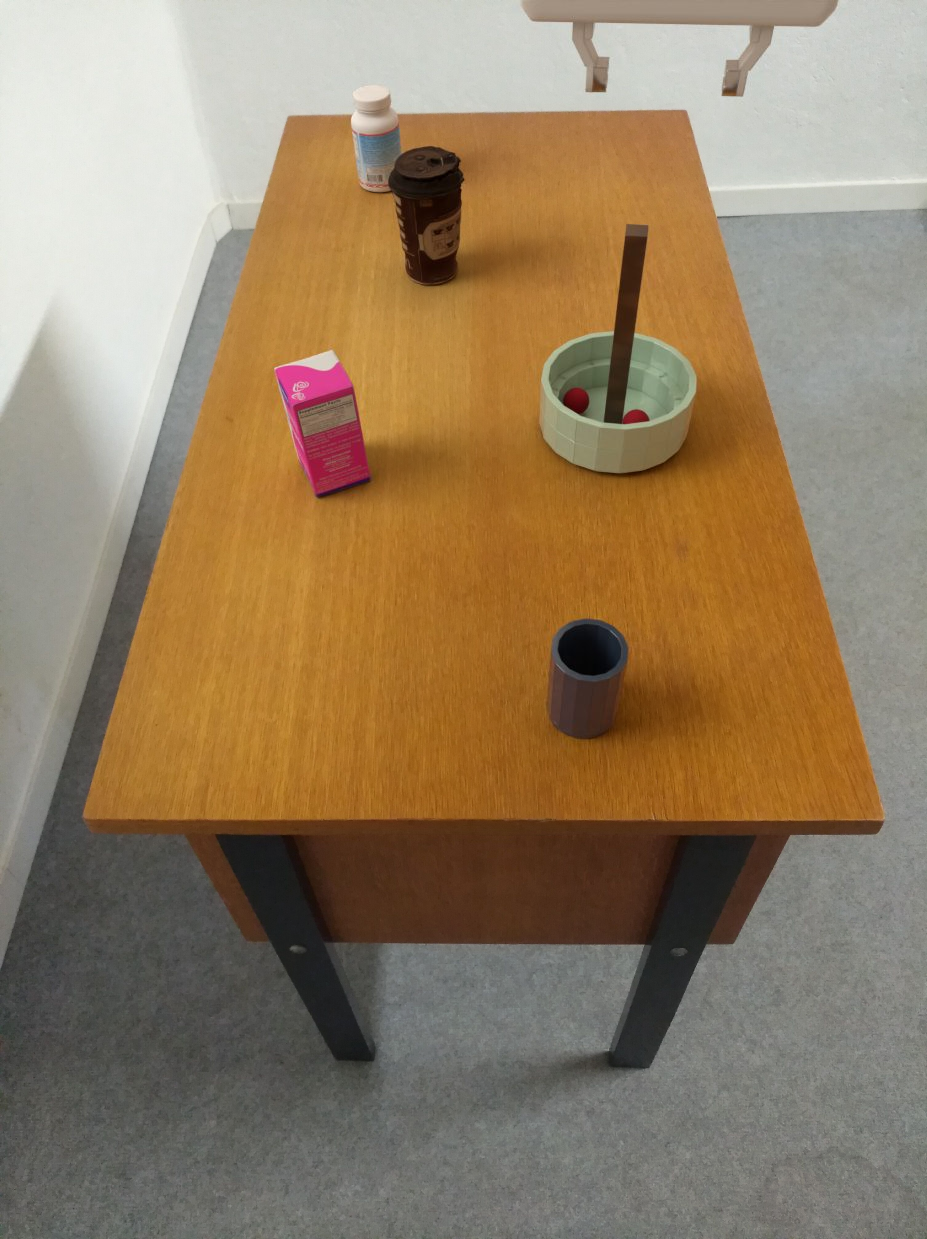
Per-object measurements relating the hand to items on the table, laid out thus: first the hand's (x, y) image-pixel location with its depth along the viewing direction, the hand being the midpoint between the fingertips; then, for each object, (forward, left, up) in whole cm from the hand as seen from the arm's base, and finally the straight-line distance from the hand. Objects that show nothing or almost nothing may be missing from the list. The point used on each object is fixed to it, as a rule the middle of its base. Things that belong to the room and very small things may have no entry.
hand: (663, 91), depth 63 cm
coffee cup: (+24, -26, -32) cm, 47 cm away
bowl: (+1, -1, -32) cm, 32 cm away
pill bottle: (+35, -46, -32) cm, 66 cm away
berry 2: (-2, 0, -30) cm, 30 cm away
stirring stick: (+1, -1, -31) cm, 31 cm away
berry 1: (+4, -2, -30) cm, 30 cm away
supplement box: (+27, +9, -32) cm, 42 cm away
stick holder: (+1, +32, -32) cm, 45 cm away
